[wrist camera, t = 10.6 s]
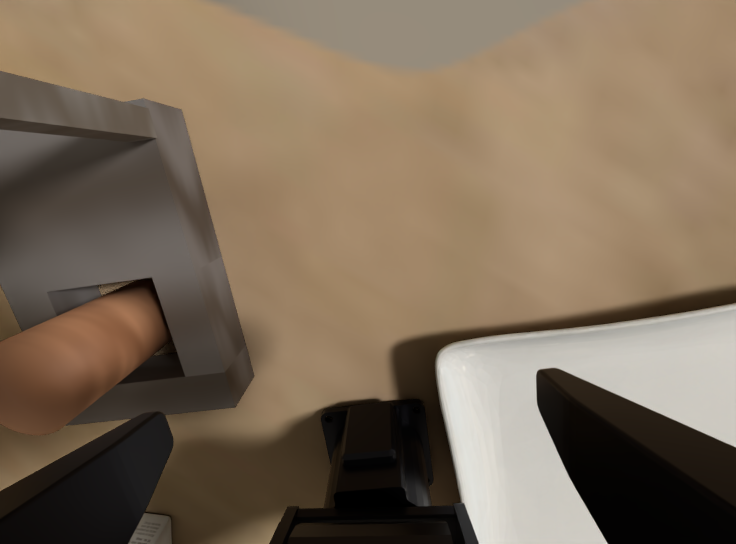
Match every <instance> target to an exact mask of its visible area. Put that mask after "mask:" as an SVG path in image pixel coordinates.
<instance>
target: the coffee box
mask: <svg viewBox="0 0 736 544" xmlns="http://www.w3.org/2000/svg"><path fill="white" fill-rule="evenodd" d="M128 544H172V538H171V518H170V517H169V516H164V515H157V514H149V513H144V515H143V517H142V519H141V520H140V522H139V524H138V526H137V528H136V530H135V532H134V534H133V536H132V538H131V539H130V541H129V543H128Z"/></svg>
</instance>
